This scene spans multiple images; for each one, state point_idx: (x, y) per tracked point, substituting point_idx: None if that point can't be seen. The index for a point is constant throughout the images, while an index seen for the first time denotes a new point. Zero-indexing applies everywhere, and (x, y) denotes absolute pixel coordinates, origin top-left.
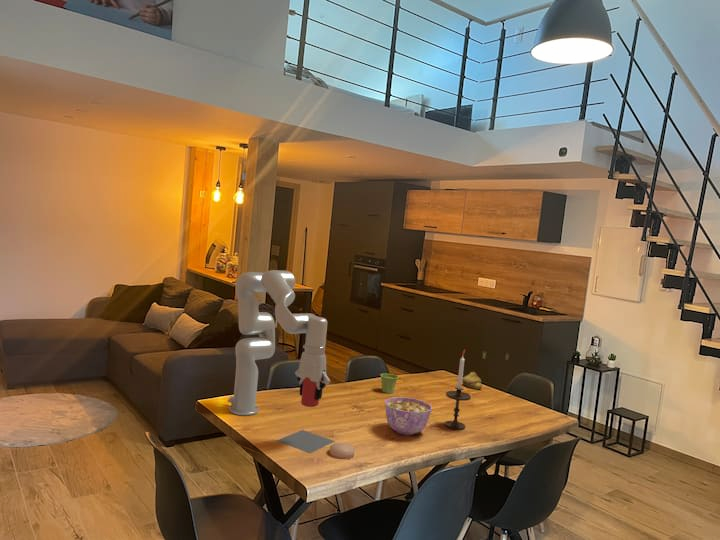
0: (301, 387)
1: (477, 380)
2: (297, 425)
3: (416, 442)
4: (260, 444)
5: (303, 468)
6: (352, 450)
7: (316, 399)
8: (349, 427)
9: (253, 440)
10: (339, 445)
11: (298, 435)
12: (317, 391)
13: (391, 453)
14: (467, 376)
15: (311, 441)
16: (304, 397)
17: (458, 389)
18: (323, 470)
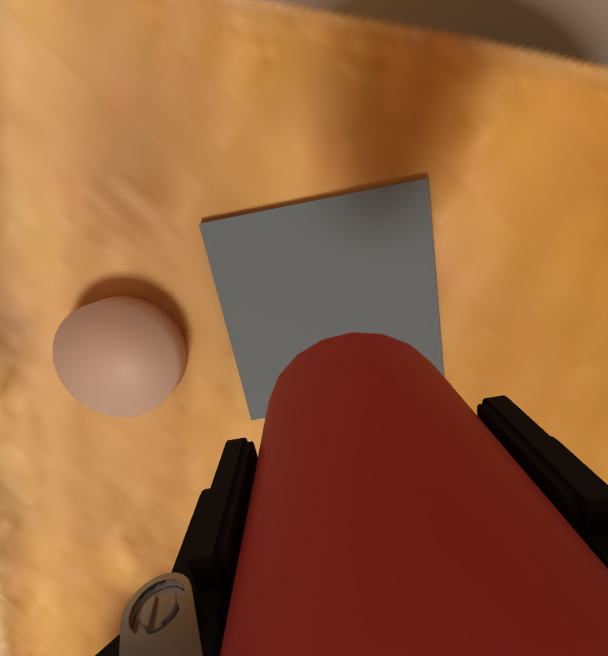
0: (553, 471)
1: None
2: None
3: (98, 642)
4: (454, 72)
5: (73, 68)
6: (67, 379)
7: (227, 444)
8: None
9: (524, 74)
10: (144, 370)
11: (404, 325)
12: (201, 537)
13: (52, 515)
14: None
15: (309, 328)
16: (365, 364)
17: None
18: (13, 147)
